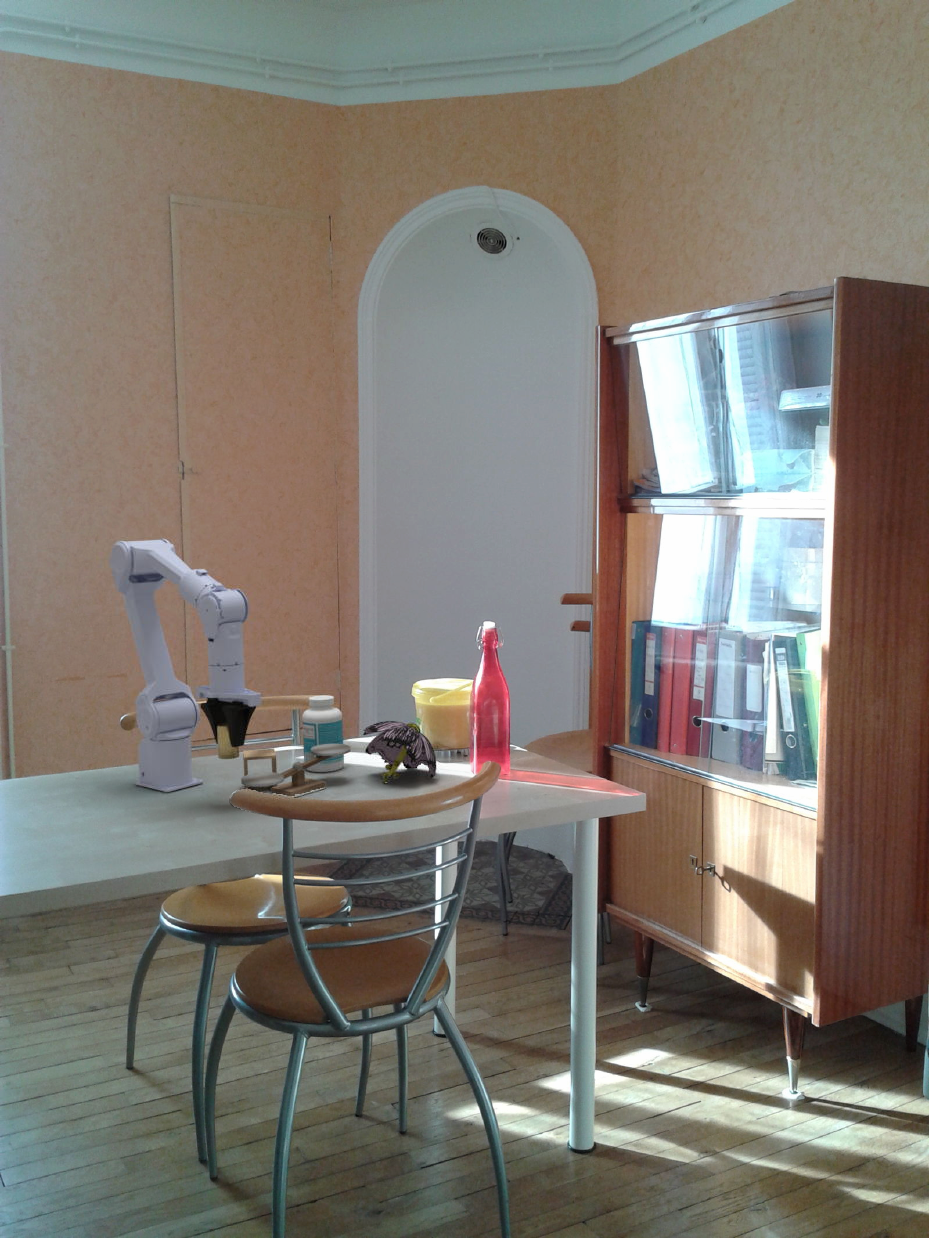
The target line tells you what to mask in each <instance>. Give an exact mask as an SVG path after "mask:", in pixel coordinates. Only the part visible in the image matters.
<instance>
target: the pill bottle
mask: <svg viewBox="0 0 929 1238" xmlns="http://www.w3.org/2000/svg"><path fill="white" fill-rule="evenodd" d="M308 705H309V708H307V709H306V710H305V711H304V712H303V713H302V718H301V721H302V742H303V743H302V744H303V745H302V746H303V763H304V762H306V761H308V760H310V759H312V758H314V757H317V756H318V755H314V754H312V753H311V748H312V747H314V746H317V745H322V744H344V730H343V729H344V727H343V713H342V711H341V710H340V709H339V708H337V707H335V706H334V705H335V696H333V695H324V694H323V695H314V696H310V697H309V698H308ZM344 766H345V754H343V755H336V756H332V757H330V758H328V759H325V760H323V761H321V762H319V763H317V764H315V765H313V766H311V767H309V768H306V769H305V770H307V771H310V772H313V773H329V771H330V772H334V771H338V770H340V769H342V768H343V767H344Z"/></svg>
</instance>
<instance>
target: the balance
mask: <svg viewBox="0 0 929 1238" xmlns="http://www.w3.org/2000/svg"><path fill="white" fill-rule="evenodd" d="M350 752H351V746H350V745H348V744H345V743H343V744H322V745H317V746H314V747H312V748H311V753H312V754H314V755H318V756H317V757H314V758H312V759H310V760H308V761H306V762H304V761H303V762H300V761H296V762H294V763H293V764H292V767H291V768H289V769H287V770H285V771H282V772H280V773H279V772H277V773H273V772H272V771H271V772H270V771H269V772H265V771H264V772H255V773H254V772H253V773H250V774H249V773H248V775H246V776H244V775H243V776H242V777H241V779H240V780H241V785H244V786H245V785H246V786H248V787H256V788H257V787H258V788H259V787H260V788H269V787H270V789H271V790H270V792H271V793H276V794H283V795H287V796H295V794H302V793H306V792H310V791H311V790H316V789H320V788H324V787H325V788H326V781H323V780H318V779H313V778H309V777H306V773H305V770H307V769H306V768H309V767H311V766H313V765H315V764H317V763H319V762H321V761H323V760H325V759H328V758H330V757H332V756H336V755H343V754H344V755H346V754H348V753H350ZM289 777H291V781H289V782H286V783H283V782H284V780H286V779H287V778H289ZM281 783H282V784H281ZM276 784H277V786H275V787H273V785H276ZM278 784H279V785H278ZM271 786H272V787H271Z"/></svg>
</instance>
